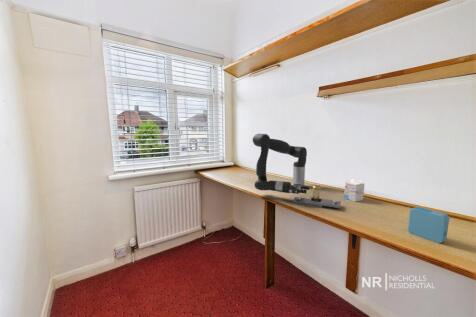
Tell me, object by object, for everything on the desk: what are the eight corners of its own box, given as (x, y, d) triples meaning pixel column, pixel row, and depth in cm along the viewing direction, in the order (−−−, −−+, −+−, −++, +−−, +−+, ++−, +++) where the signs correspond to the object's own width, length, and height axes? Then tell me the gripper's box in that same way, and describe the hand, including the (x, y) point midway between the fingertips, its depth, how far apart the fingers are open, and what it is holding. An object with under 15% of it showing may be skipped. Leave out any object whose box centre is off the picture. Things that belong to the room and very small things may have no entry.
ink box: (343, 198, 142) (344, 179, 141) (351, 196, 146) (353, 177, 144) (355, 202, 135) (356, 182, 133) (363, 200, 138) (365, 180, 136)
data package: (446, 241, 87) (450, 214, 86) (442, 244, 85) (446, 217, 83) (411, 229, 98) (414, 205, 96) (407, 232, 96) (410, 207, 94)
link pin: (312, 202, 135) (312, 184, 133) (320, 203, 132) (321, 185, 131) (310, 204, 130) (311, 186, 129) (319, 206, 128) (320, 187, 126)
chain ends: (292, 202, 134) (292, 196, 134) (295, 198, 142) (295, 193, 141) (340, 210, 121) (340, 203, 120) (340, 205, 128) (341, 199, 128)
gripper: (280, 184, 134) (306, 187, 126) (286, 179, 146) (310, 181, 138) (280, 195, 135) (305, 199, 127) (285, 189, 147) (309, 192, 139)
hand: (307, 190), depth 133 cm, fingers open, 8 cm apart
